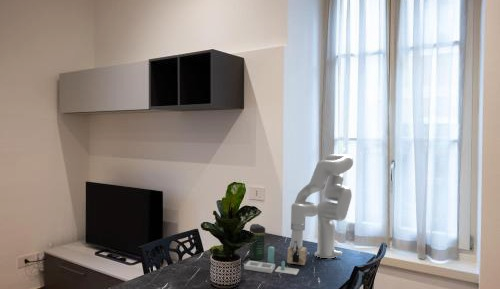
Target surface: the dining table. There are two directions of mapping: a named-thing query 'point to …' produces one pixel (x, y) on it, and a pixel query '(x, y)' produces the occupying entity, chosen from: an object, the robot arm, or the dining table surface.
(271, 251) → the pin
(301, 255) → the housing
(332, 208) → the robot arm
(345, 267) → the dining table surface
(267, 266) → the socket board
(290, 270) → the card
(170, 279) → the dining table surface
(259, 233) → the coffee jar
